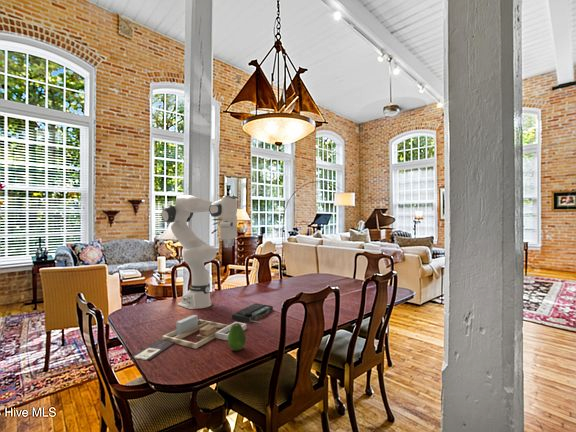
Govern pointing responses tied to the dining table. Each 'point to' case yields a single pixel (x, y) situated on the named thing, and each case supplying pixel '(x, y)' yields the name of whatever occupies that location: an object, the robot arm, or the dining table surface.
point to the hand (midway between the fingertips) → (229, 246)
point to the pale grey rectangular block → (186, 324)
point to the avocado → (236, 337)
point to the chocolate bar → (153, 350)
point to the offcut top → (207, 330)
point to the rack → (190, 344)
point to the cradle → (221, 333)
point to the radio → (252, 313)
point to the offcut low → (203, 336)
